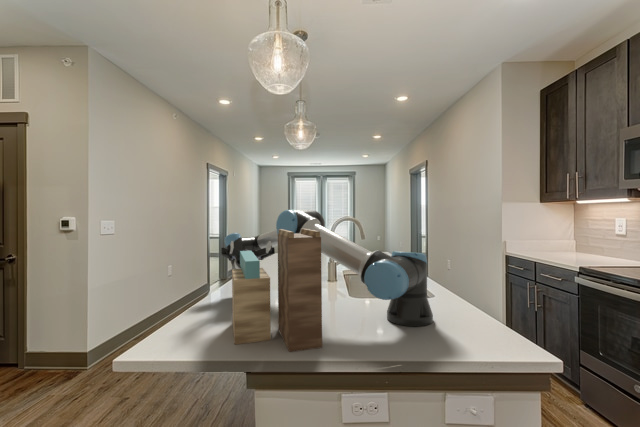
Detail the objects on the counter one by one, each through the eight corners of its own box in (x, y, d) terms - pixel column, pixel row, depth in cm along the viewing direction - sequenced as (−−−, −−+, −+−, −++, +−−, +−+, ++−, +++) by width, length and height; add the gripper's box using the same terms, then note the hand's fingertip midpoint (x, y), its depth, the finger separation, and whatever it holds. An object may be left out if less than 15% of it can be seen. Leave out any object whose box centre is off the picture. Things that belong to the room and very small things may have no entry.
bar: (240, 265, 116) (239, 251, 116) (251, 264, 117) (251, 250, 117) (245, 279, 91) (245, 261, 91) (259, 278, 92) (259, 260, 92)
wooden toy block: (232, 323, 107) (232, 269, 107) (262, 320, 110) (262, 267, 110) (234, 344, 90) (234, 280, 90) (270, 340, 93) (270, 277, 93)
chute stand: (278, 329, 101) (277, 229, 101) (306, 326, 104) (305, 228, 104) (289, 352, 85) (288, 232, 85) (322, 347, 88) (321, 231, 88)
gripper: (274, 268, 139) (285, 253, 121) (213, 270, 131) (215, 254, 113) (273, 251, 142) (284, 234, 124) (213, 252, 134) (215, 234, 116)
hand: (251, 244), depth 118 cm, fingers open, 13 cm apart
